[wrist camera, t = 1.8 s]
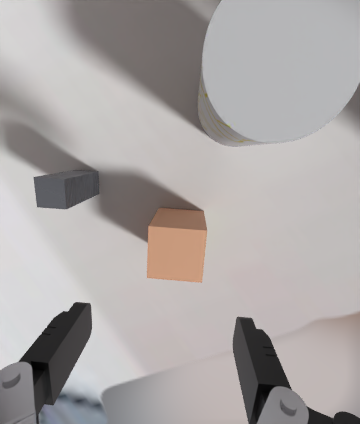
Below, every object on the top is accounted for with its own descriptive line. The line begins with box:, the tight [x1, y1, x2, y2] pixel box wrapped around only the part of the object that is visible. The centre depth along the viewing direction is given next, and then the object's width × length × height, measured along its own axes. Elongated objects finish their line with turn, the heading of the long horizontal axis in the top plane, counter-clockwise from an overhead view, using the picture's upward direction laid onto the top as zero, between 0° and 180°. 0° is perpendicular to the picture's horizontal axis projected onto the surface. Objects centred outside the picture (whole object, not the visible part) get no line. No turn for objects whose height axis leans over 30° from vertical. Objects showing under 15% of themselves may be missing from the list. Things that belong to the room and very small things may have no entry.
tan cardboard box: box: [147, 208, 207, 283], centre depth 23 cm, size 5×5×7 cm
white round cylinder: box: [197, 0, 360, 147], centre depth 17 cm, size 8×8×12 cm
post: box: [34, 170, 99, 209], centre depth 22 cm, size 3×3×7 cm
